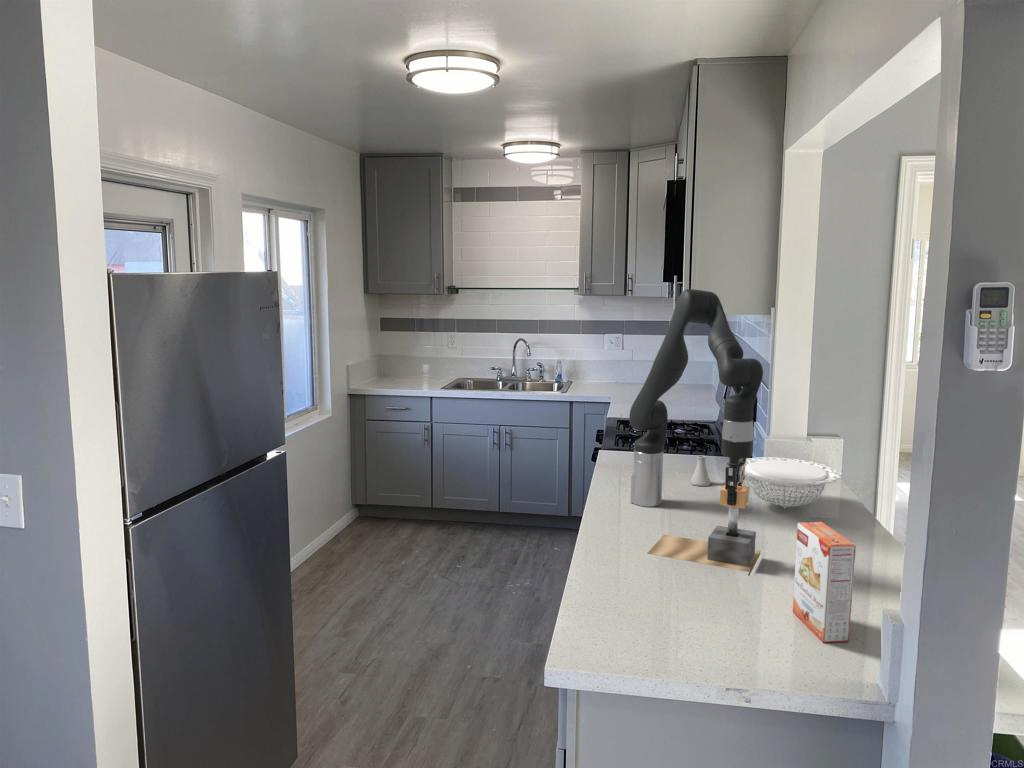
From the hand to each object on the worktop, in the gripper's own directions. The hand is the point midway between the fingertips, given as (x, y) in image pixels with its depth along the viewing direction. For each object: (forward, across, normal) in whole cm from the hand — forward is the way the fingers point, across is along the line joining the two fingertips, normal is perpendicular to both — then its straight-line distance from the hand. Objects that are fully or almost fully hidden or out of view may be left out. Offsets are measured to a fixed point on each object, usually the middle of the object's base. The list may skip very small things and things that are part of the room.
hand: (734, 501), depth 194 cm
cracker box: (+16, +29, +24) cm, 41 cm away
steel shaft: (+9, 0, 0) cm, 9 cm away
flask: (+16, -67, -24) cm, 73 cm away
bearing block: (+16, 0, -7) cm, 17 cm away
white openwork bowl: (+16, -52, +6) cm, 55 cm away
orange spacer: (+1, 0, 0) cm, 1 cm away
